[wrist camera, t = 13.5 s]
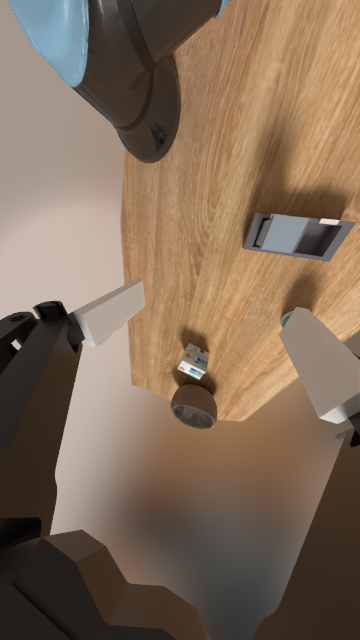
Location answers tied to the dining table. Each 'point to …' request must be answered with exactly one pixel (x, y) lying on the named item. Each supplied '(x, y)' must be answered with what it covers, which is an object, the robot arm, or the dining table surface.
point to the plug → (280, 233)
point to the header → (306, 237)
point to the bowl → (194, 407)
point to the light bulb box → (194, 361)
